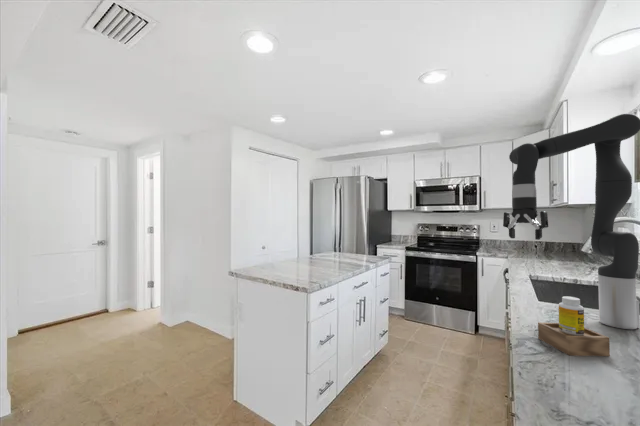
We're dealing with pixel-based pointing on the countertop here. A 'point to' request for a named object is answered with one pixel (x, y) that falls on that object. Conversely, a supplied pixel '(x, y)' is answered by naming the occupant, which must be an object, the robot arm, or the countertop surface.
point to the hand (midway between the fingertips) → (524, 238)
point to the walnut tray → (574, 341)
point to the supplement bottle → (571, 316)
